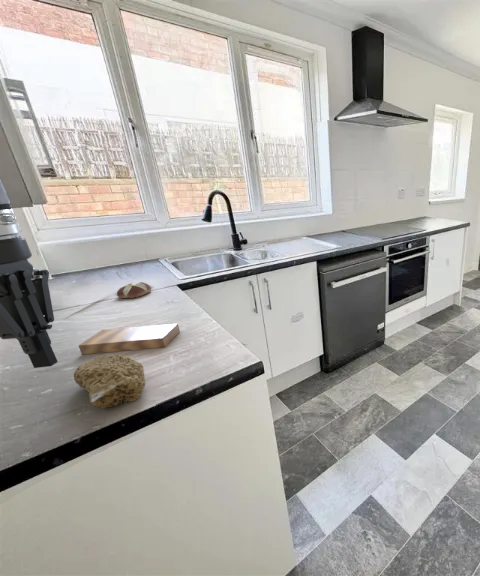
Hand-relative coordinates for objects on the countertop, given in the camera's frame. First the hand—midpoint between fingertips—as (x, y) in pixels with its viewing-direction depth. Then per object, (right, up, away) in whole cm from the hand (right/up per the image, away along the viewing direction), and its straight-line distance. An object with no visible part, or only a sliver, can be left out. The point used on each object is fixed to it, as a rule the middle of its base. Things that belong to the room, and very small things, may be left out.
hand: (46, 364), depth 57 cm
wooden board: (-15, -3, +38) cm, 41 cm away
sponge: (-2, -10, +17) cm, 20 cm away
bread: (-47, +11, +79) cm, 93 cm away
